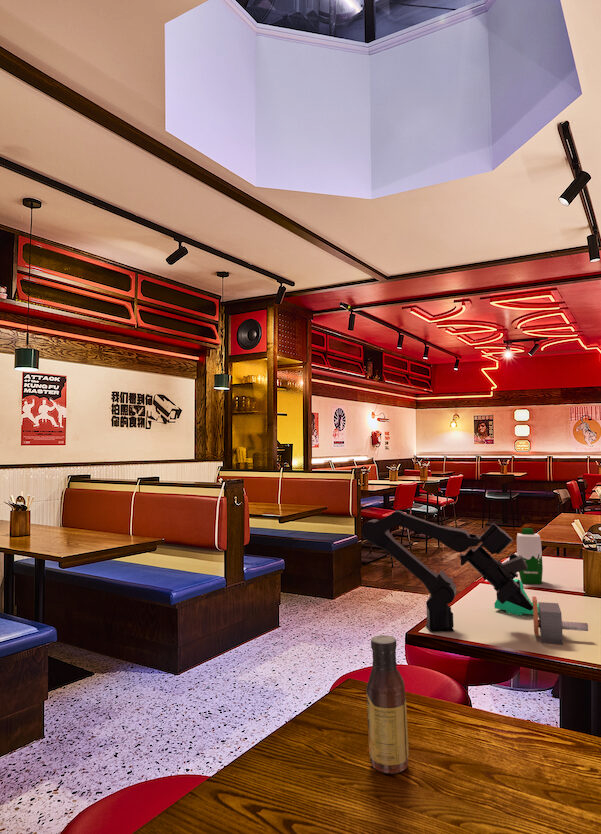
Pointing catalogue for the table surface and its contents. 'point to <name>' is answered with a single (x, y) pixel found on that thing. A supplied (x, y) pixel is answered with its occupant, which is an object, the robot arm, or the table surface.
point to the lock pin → (564, 624)
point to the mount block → (550, 623)
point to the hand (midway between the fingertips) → (532, 609)
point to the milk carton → (530, 556)
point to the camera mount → (513, 607)
